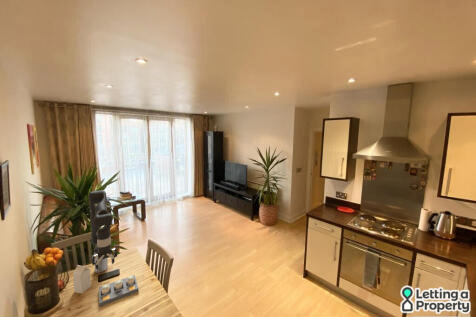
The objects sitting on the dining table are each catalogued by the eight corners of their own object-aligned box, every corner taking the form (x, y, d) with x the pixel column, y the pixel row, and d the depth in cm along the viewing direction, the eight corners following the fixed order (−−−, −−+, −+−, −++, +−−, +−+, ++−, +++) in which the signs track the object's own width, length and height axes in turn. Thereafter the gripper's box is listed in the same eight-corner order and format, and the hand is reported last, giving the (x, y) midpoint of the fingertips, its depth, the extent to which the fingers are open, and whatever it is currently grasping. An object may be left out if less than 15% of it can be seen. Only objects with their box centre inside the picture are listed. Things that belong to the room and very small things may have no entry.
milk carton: (81, 293, 143) (80, 269, 141) (74, 292, 145) (72, 268, 142) (91, 286, 150) (89, 263, 148) (83, 285, 151) (82, 262, 149)
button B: (114, 286, 147) (114, 281, 146) (122, 283, 149) (121, 278, 149) (115, 290, 143) (114, 285, 142) (122, 287, 146) (122, 282, 145)
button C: (126, 282, 151) (126, 277, 151) (133, 279, 154) (133, 274, 154) (127, 286, 147) (127, 280, 147) (134, 283, 150) (134, 278, 150)
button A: (101, 291, 142) (101, 285, 142) (109, 288, 145) (109, 283, 144) (101, 295, 138) (101, 290, 138) (109, 292, 141) (109, 287, 140)
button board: (99, 290, 146) (98, 286, 146) (134, 278, 160) (134, 274, 160) (99, 307, 133) (99, 302, 132) (138, 291, 147) (138, 287, 146)
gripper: (115, 237, 139) (115, 259, 140) (90, 245, 129) (91, 268, 130) (117, 242, 133) (118, 264, 135) (92, 250, 123) (93, 274, 125)
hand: (105, 266), depth 133 cm, fingers open, 8 cm apart
